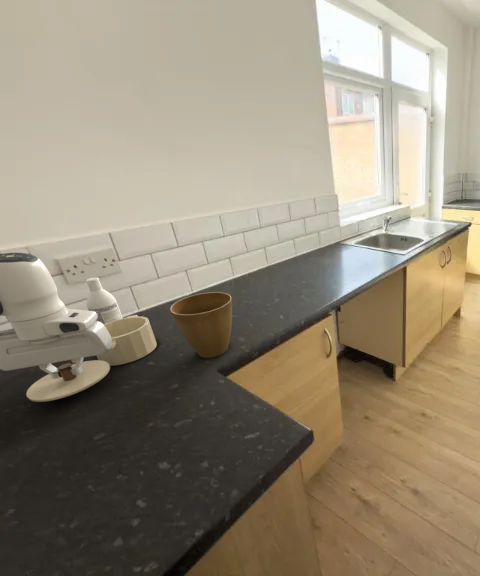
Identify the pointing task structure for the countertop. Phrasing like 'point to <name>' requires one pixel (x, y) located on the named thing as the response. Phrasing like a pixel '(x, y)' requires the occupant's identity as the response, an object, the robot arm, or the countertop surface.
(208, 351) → the plant pot
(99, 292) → the bath foam
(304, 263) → the countertop surface
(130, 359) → the pot
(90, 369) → the lid
